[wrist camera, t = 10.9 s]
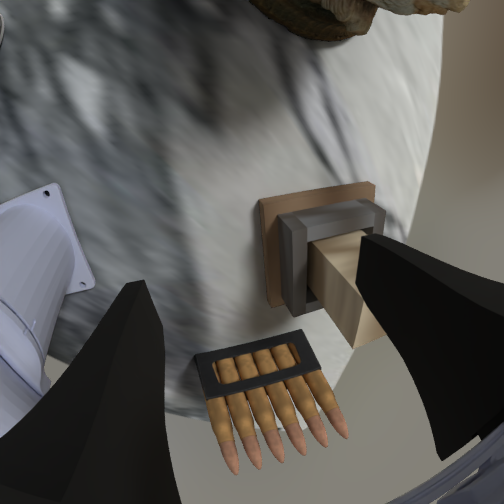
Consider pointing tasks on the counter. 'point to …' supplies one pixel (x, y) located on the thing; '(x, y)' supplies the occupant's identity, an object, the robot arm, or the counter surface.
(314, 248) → the square peg
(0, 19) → the supplement bottle
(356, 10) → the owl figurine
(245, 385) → the ammunition clip
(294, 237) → the socket
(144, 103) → the counter surface
